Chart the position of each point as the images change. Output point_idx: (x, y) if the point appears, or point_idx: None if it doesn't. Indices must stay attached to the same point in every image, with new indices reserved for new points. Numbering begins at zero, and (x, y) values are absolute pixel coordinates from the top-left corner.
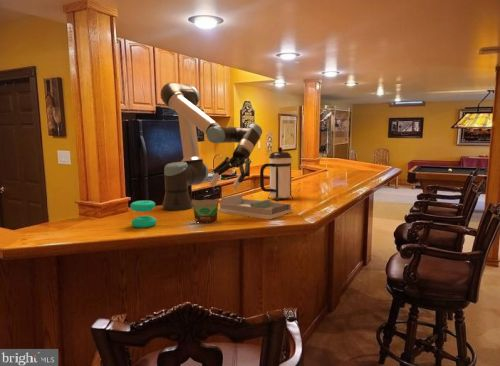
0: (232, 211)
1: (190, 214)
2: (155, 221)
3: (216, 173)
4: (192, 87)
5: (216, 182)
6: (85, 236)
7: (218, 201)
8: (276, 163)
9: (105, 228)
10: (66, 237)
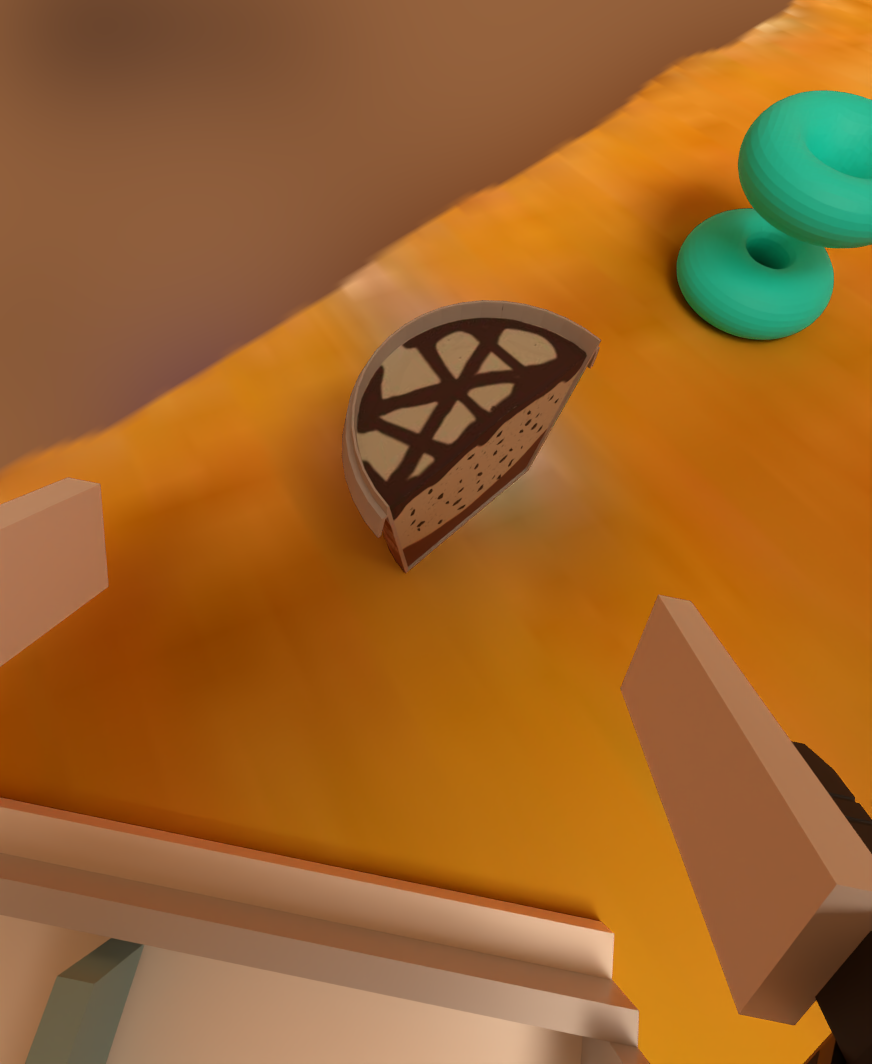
0: (389, 885)
1: (754, 679)
2: (693, 288)
3: (841, 853)
4: None
5: (658, 776)
6: (777, 95)
7: (346, 460)
8: None
9: None
10: (826, 72)
